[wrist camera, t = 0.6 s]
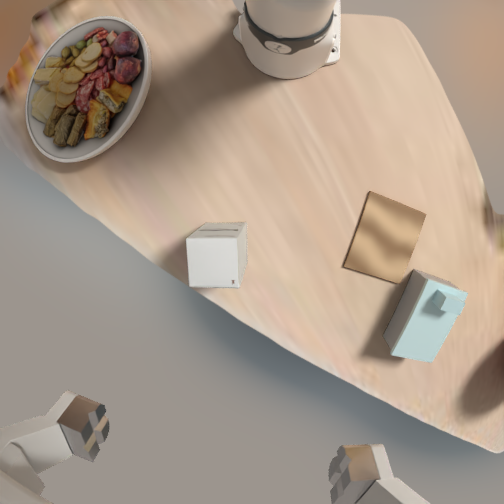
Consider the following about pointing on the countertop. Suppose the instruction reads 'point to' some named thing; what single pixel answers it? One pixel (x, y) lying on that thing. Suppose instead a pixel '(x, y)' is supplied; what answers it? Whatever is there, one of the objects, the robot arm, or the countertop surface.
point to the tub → (408, 304)
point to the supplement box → (217, 255)
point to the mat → (385, 238)
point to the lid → (429, 321)
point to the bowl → (88, 89)
